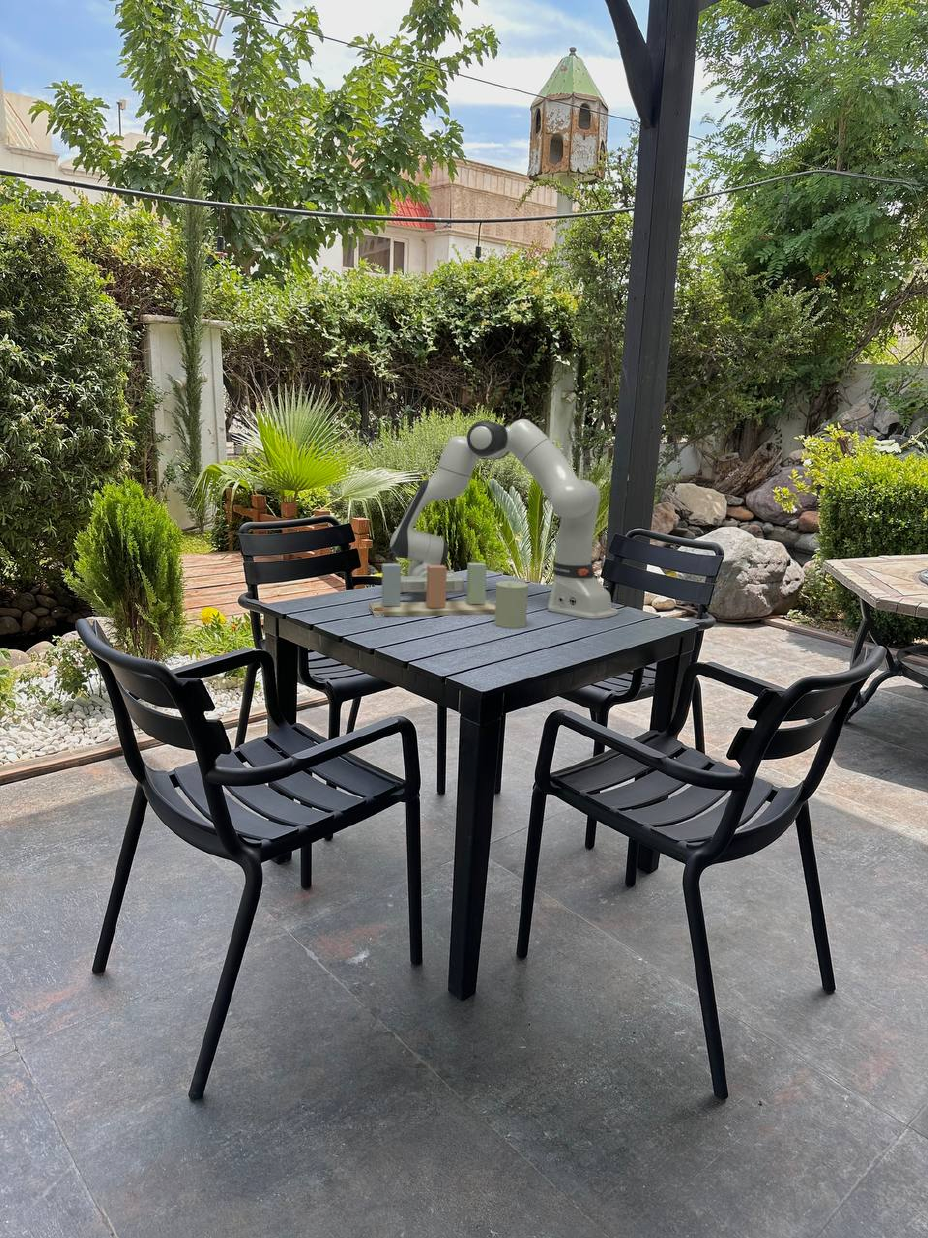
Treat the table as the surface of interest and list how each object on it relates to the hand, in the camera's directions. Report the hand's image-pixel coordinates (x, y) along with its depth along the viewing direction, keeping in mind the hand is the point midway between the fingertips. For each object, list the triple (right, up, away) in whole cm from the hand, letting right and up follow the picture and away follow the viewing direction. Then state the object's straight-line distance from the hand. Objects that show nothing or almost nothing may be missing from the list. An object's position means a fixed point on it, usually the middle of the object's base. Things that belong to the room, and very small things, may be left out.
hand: (435, 589), depth 237 cm
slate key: (-13, -5, 0) cm, 14 cm away
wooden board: (0, -6, +1) cm, 7 cm away
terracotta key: (0, -5, -1) cm, 5 cm away
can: (+22, -10, -11) cm, 27 cm away
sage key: (+12, -4, +5) cm, 14 cm away
